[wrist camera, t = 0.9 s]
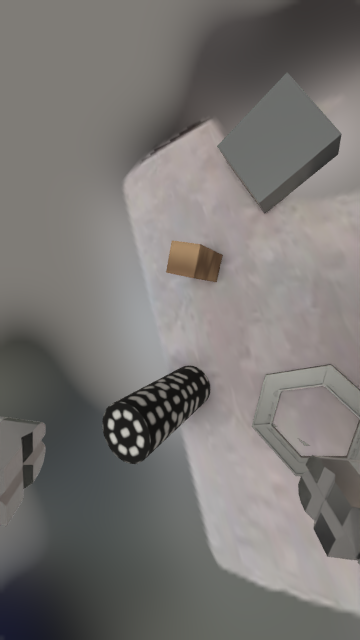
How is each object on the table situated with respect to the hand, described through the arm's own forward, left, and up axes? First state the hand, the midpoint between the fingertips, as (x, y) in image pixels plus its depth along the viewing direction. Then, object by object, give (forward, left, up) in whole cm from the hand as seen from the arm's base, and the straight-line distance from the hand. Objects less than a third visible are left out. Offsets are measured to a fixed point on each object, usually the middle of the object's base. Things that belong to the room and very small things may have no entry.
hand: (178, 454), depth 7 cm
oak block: (+6, -17, -37) cm, 42 cm away
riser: (-13, -24, -37) cm, 46 cm away
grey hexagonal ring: (+5, +15, -38) cm, 41 cm away
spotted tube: (+22, +1, -38) cm, 44 cm away
